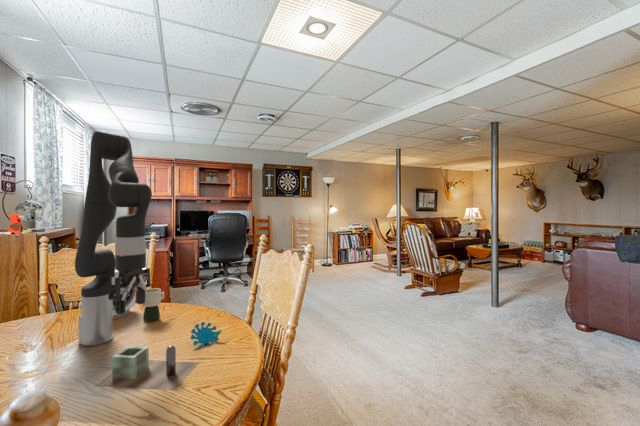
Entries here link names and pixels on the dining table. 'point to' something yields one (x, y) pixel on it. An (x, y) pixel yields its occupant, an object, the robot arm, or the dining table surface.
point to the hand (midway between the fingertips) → (131, 308)
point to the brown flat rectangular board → (153, 377)
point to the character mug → (152, 304)
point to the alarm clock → (128, 300)
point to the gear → (205, 334)
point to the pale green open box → (130, 362)
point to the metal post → (170, 361)
